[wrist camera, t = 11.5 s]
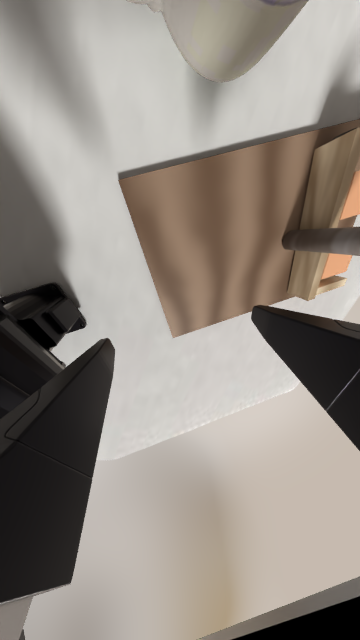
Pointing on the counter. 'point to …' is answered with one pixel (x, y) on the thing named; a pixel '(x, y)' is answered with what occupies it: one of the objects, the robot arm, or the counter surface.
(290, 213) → the board
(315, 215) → the wooden pusher with handle
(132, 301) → the counter surface
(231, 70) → the teacup
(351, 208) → the block
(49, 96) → the counter surface
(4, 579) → the robot arm
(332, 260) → the block
